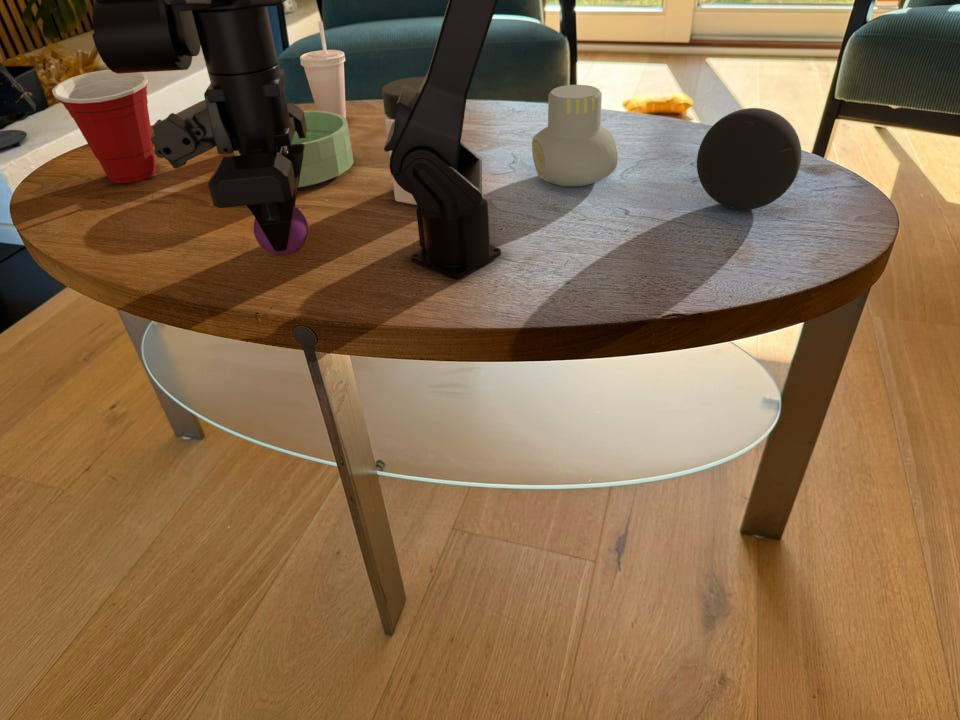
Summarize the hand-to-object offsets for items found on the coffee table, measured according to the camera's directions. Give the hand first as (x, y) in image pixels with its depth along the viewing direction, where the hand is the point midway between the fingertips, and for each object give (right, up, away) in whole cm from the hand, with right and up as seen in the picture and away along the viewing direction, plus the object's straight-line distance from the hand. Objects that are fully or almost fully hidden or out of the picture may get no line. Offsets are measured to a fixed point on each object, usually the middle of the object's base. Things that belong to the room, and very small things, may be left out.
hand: (283, 238), depth 68 cm
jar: (+13, +8, +15) cm, 21 cm away
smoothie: (-3, +24, +39) cm, 45 cm away
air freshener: (+30, +10, +16) cm, 35 cm away
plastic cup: (-26, +12, +25) cm, 38 cm away
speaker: (+46, +5, +8) cm, 47 cm away
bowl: (-4, +13, +23) cm, 27 cm away
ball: (0, +1, -1) cm, 1 cm away
